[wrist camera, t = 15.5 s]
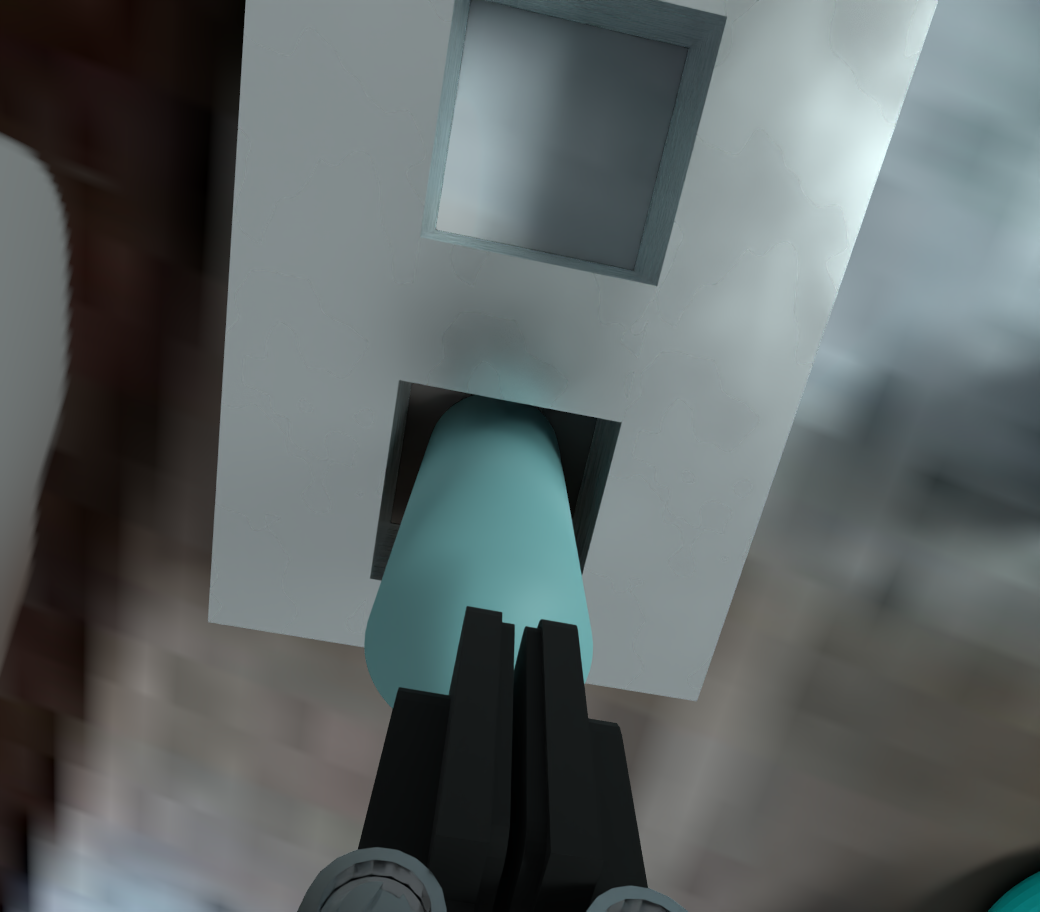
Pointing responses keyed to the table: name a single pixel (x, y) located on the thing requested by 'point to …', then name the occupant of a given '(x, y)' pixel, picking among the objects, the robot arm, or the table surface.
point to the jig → (536, 304)
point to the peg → (477, 546)
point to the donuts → (1021, 897)
